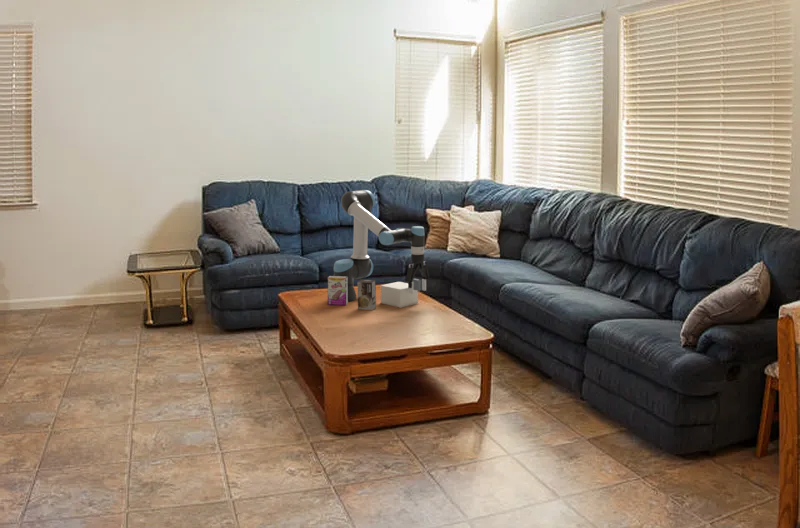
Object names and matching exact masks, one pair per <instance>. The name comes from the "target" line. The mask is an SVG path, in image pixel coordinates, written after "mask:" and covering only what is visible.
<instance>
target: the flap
mask: <svg viewBox="0 0 800 528" xmlns="http://www.w3.org/2000/svg"><path fill="white" fill-rule="evenodd" d="M412 282H413V290H417V291H418V292H419V291H422V279H419V278H414V279H413V281H412ZM381 287H386V288H391V289H396V290H405V289H409V282H403V281H396V282H390V283H386V284H380V288H381Z"/></svg>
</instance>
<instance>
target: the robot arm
mask: <svg viewBox="0 0 800 528" xmlns="http://www.w3.org/2000/svg"><path fill="white" fill-rule="evenodd" d="M340 204H341V205H340V206H341V208H342V209H343V210H344V212H345V213H346V214H348V216H353V239H352V240H353V243H352V245H353V246H352V249H353V250H352V254H351V255H350V258H343V259H339V260H336V261H334V263H333V276H342V277H348V302H351V301H355V300H357V293H356V289H355V287H354V280H361V279H365V278H367V277H370V276H371V274H372V273H373V271H374V263H373V261H372V260H371V259H370V257H371V256H369V254H368V243H369V241H368V238H369V237H368V235H369V232H368V231H369V230H370V232H372V233H373V234H374V235H376V237H378V241H379V243H380V244H381V245H384V246H390V245H395V244H400V243H410V248H411V249H410V253H411V254H410V259H411V263H408V265H407V273H406V277H405V282H406V283H408V282H409V293H411V294H413V282H412V281H413V279H415V276H416V273H417V271H419V273H420V275H421V277H422V279H421V291H423V292H425V291H426V292H427V283H428V281H427V280H429V278H430V273H429V268H428V261H426V260H425V254H424V253H425V228H424V226H421V225H417V226H416V225H415V226H411V228H404V227H398V228H396V229H393V230H392V229H391V228H390V227H389V226H387V225H385V224H384V223H383V222H382V221H380V220H379V219H378V218H377V217H376V216H374V214H372V209H373V208H374V206H375V205H376V198H375V195H374V193H373V192H371V191H370V190H368V189H360V190H350V191H347V192H345V193H344V194H343V195H342V196H341V199H340Z"/></svg>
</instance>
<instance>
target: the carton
mask: <svg viewBox="0 0 800 528" xmlns="http://www.w3.org/2000/svg"><path fill="white" fill-rule="evenodd" d="M380 304H384V305H388V306H392V307H396V308H404V307H408V306H412V305H416V304H419V291H417V290H413V294H411V293H409V289H405V290H396V289H391V288H386V287H381V286H380Z"/></svg>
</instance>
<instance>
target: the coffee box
mask: <svg viewBox="0 0 800 528" xmlns="http://www.w3.org/2000/svg"><path fill="white" fill-rule="evenodd" d="M356 283H357V309H358V310H365V311H366V310H367V311H373V310H376V308H377V300H376V299H377V288H376V286H377V284H376V283H377V282H376V280H372V279H359V280H358V281H357V282H356Z"/></svg>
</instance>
